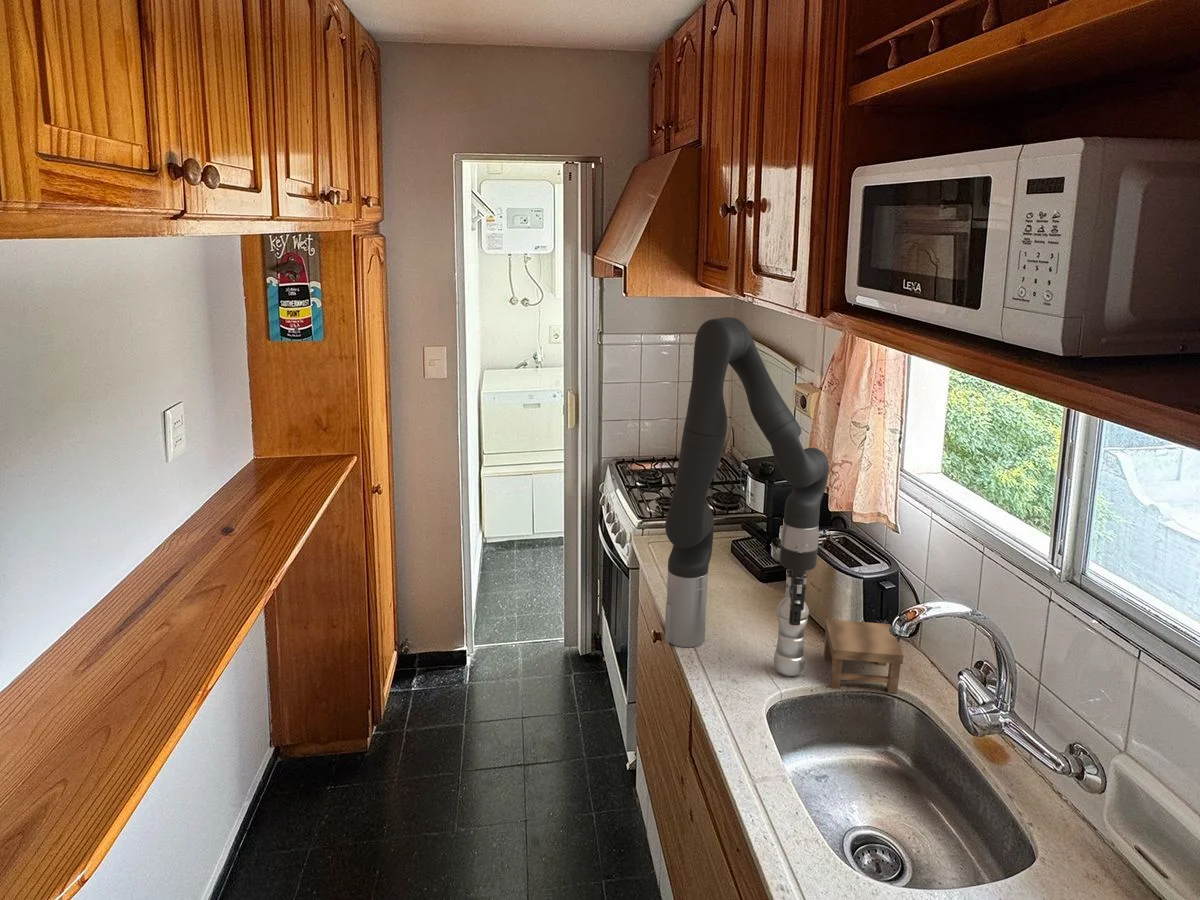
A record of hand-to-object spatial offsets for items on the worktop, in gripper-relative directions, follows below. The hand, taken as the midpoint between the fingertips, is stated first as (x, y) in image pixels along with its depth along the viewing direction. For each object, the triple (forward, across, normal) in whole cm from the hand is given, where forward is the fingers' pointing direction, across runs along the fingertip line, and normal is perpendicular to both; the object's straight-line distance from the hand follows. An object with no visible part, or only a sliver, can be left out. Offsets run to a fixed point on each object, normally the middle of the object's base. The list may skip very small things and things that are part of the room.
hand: (793, 616), depth 176 cm
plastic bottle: (+13, 0, 0) cm, 13 cm away
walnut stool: (+13, -2, +15) cm, 20 cm away
